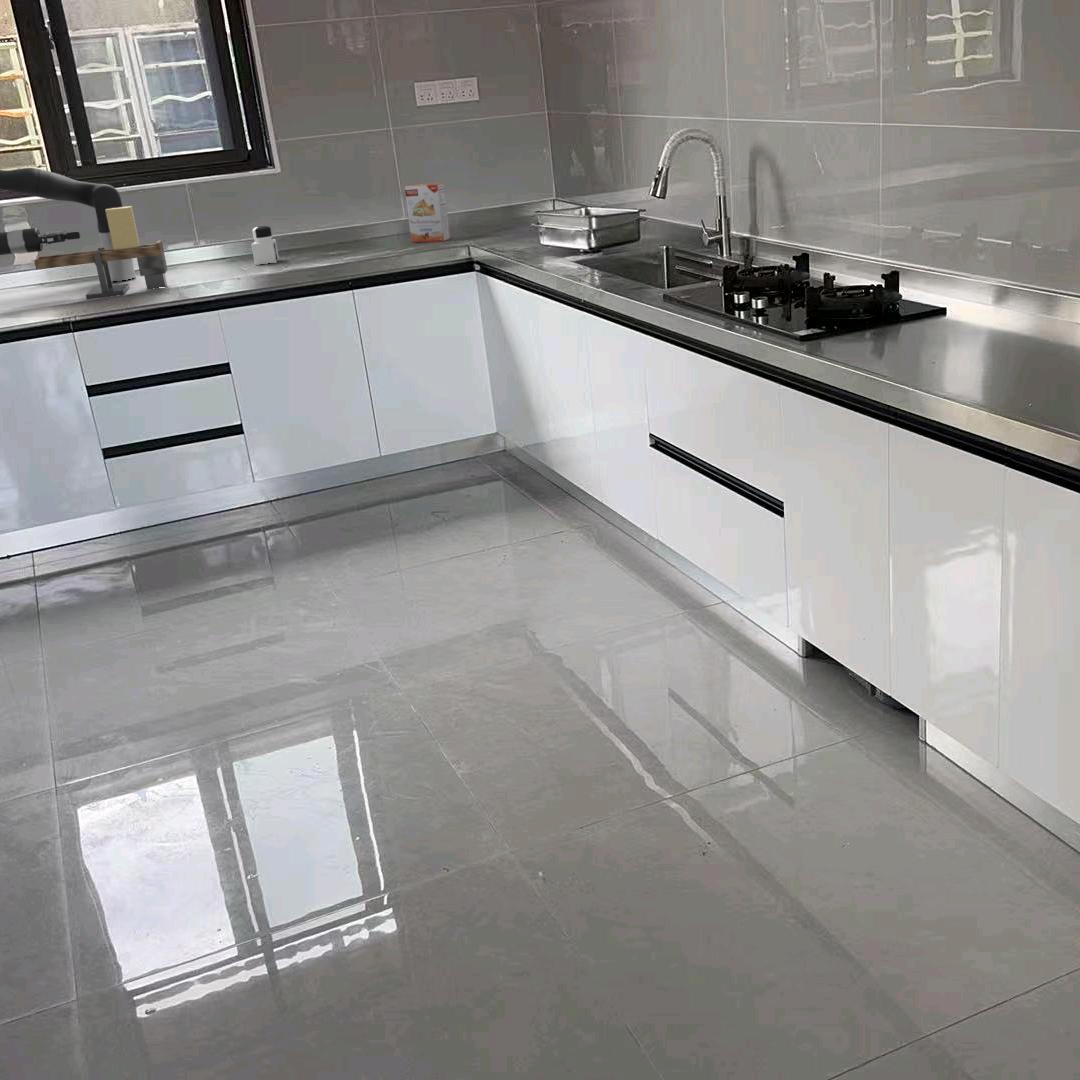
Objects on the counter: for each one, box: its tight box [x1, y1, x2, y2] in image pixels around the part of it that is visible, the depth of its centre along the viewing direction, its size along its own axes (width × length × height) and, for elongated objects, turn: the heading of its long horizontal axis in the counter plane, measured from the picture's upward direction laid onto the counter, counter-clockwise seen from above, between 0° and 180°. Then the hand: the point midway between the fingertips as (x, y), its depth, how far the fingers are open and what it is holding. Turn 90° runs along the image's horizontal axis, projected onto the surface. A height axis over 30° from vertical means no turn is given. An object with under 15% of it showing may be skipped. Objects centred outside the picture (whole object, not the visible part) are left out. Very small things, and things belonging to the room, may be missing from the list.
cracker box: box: [404, 182, 451, 243], centre depth 454 cm, size 14×6×21 cm, turn 67°
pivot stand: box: [85, 247, 168, 300], centre depth 405 cm, size 25×16×14 cm, turn 101°
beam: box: [34, 239, 168, 277], centre depth 403 cm, size 40×9×10 cm, turn 101°
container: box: [250, 225, 280, 266], centre depth 441 cm, size 8×8×13 cm
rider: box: [105, 205, 141, 251], centre depth 401 cm, size 8×5×14 cm, turn 103°
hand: (79, 234), depth 399 cm, fingers closed
